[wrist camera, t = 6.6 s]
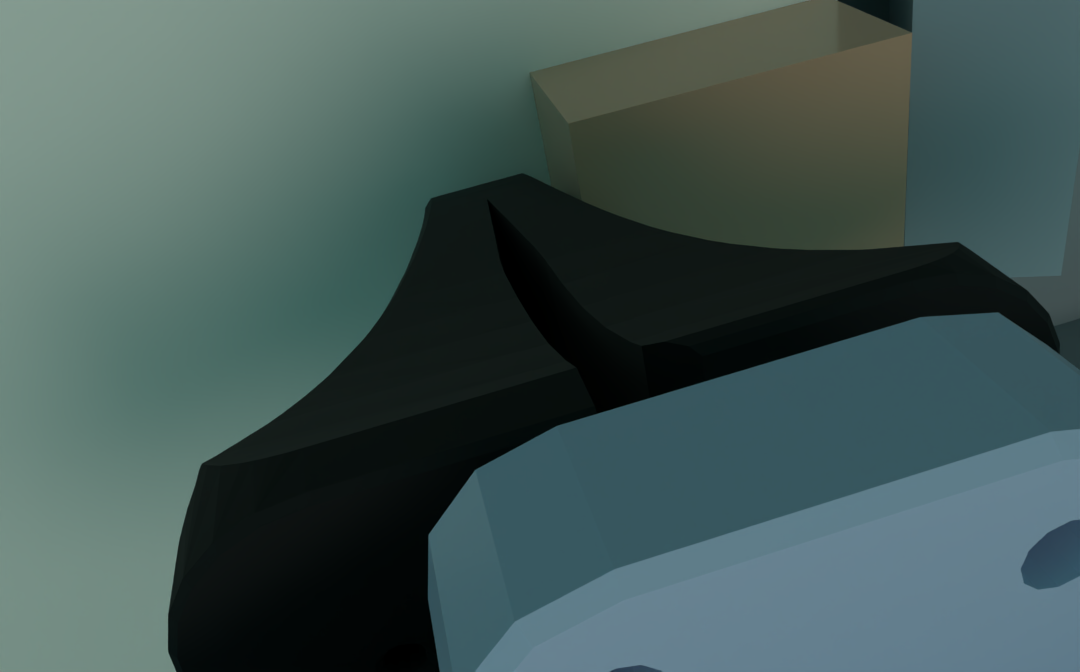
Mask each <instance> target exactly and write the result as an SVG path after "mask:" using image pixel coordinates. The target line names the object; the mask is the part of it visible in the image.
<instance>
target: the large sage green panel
mask: <svg viewBox="0 0 1080 672" xmlns="http://www.w3.org/2000/svg"><path fill="white" fill-rule="evenodd" d="M804 1H808V0H0V672H176V670H175V667H174V665H173V663H172V660H171V658H170V656H169V653H168V612H169V605H170V598H171V591H172V585H173V578H174V571H175V564H176V557H177V551H178V545H179V539H180V535H181V531H182V527H183V523H184V520H185V516H186V512H187V508H188V505H189V502H190V499H191V496H192V493H193V490H194V487H195V484H196V480H197V476H198V473H199V469H200V466H201V464H202V463H204V462H206V461H207V460H209V459H211V458H213V457H215V456H216V455H218V454H220V453H221V452H223V451H225V450H226V449H228V448H229V447H231V446H233V445H234V444H236V443H238V442H239V441H241V440H242V439H244V438H246V437H247V436H249V435H250V434H252V433H254V432H255V431H257V430H259V429H260V428H262V427H263V426H265V425H267V424H268V423H269V422H271V421H272V420H274V419H275V418H277V417H278V416H279V415H281V414H282V413H284V412H285V411H286V410H287V409H289V408H290V407H291V406H293V405H294V404H295V403H297V402H298V401H299V400H300V399H302V398H303V397H304V396H306V395H307V394H308V393H309V392H310V391H311V390H313V389H314V388H315V387H316V386H317V385H318V384H320V383H321V382H322V381H323V380H324V379H325V378H326V377H328V376H329V375H330V374H331V373H332V372H333V371H334V370H335V369H336V367H337V366H338V365H339V364H340V363H341V362H342V361H343V360H344V359H345V358H346V357H347V356H348V355H349V354H350V353H351V352H352V351H353V350H354V349H355V348H356V347H357V346H358V344H359V343H360V342H361V341H362V340H363V339H364V338H365V337H366V335H367V334H368V333H369V332H370V330H371V329H372V328H373V326H374V325H375V324H376V322H377V321H378V320H379V318H380V317H381V315H382V314H383V312H384V311H385V309H386V307H387V306H388V304H389V302H390V300H391V298H392V297H393V295H394V293H395V291H396V289H397V287H398V285H399V283H400V281H401V279H402V277H403V275H404V273H405V271H406V269H407V267H408V264H409V262H410V259H411V256H412V254H413V251H414V249H415V246H416V244H417V241H418V238H419V235H420V231H421V228H422V224H423V220H424V215H425V207H426V206H427V204H428V202H429V201H430V199H431V198H433V197H437V196H440V195H444V194H448V193H451V192H455V191H459V190H462V189H466V188H470V187H473V186H477V185H480V184H484V183H488V182H491V181H495V180H499V179H502V178H506V177H510V176H513V175H517V174H521V173H524V174H526V175H529V176H531V177H533V178H535V179H537V180H539V181H541V182H543V183H545V184H548V185H550V186H551V182H550V177H549V172H548V167H547V161H546V156H545V151H544V146H543V141H542V136H541V131H540V125H539V120H538V115H537V110H536V105H535V100H534V94H533V89H532V84H531V79H530V74H529V72H533V71H537V70H541V69H545V68H549V67H553V66H556V65H560V64H564V63H568V62H572V61H576V60H580V59H583V58H587V57H591V56H595V55H599V54H603V53H607V52H611V51H614V50H618V49H622V48H626V47H630V46H634V45H638V44H642V43H645V42H649V41H653V40H657V39H661V38H665V37H669V36H673V35H676V34H680V33H684V32H688V31H692V30H696V29H700V28H704V27H707V26H711V25H715V24H719V23H723V22H727V21H731V20H735V19H738V18H742V17H746V16H750V15H754V14H758V13H762V12H766V11H769V10H773V9H777V8H781V7H785V6H789V5H793V4H797V3H800V2H804Z"/></svg>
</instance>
